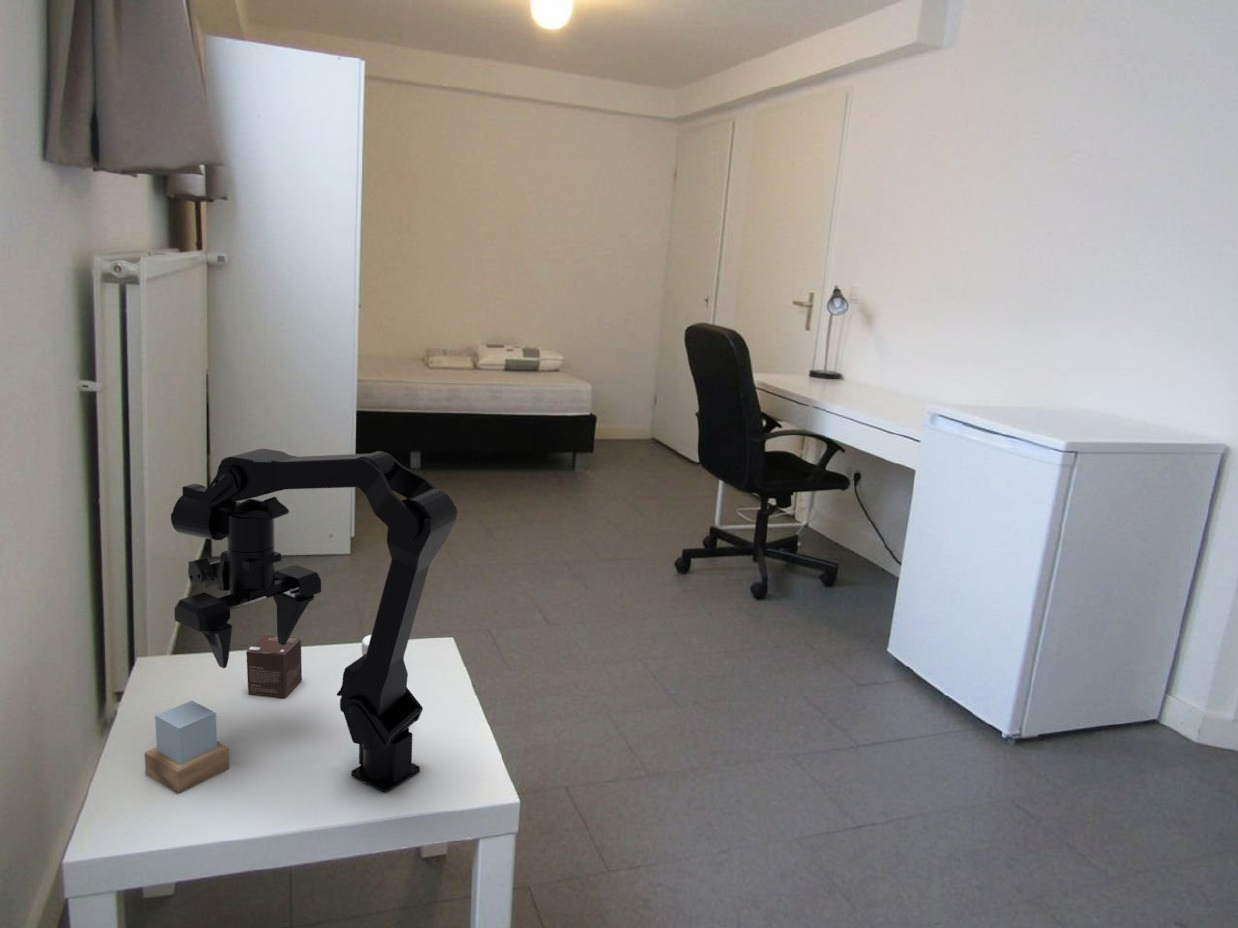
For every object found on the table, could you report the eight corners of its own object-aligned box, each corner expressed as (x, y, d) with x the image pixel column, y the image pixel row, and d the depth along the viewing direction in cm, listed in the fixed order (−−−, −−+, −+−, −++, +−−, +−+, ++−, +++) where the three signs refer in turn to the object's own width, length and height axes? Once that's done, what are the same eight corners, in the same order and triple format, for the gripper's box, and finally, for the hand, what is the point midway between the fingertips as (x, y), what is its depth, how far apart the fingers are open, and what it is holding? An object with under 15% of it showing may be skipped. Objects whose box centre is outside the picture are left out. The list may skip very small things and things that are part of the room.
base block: (229, 768, 115) (228, 747, 114) (178, 793, 109) (177, 771, 108) (196, 749, 119) (195, 729, 118) (145, 773, 113) (144, 751, 112)
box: (302, 681, 139) (302, 637, 137) (285, 699, 133) (284, 654, 132) (265, 676, 140) (265, 633, 138) (246, 694, 134) (245, 650, 132)
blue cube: (216, 747, 114) (215, 712, 113) (180, 764, 110) (179, 728, 109) (193, 734, 117) (192, 700, 115) (156, 751, 112) (155, 715, 111)
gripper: (271, 518, 128) (273, 618, 131) (146, 548, 112) (151, 661, 116) (324, 535, 122) (324, 639, 126) (200, 569, 107) (204, 687, 110)
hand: (253, 655), depth 119 cm, fingers open, 9 cm apart
